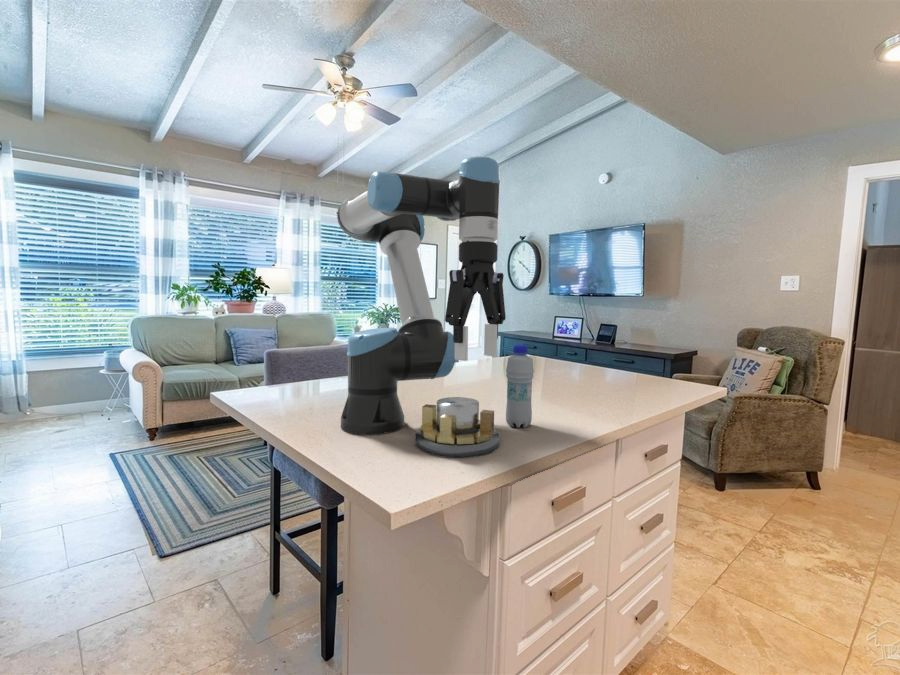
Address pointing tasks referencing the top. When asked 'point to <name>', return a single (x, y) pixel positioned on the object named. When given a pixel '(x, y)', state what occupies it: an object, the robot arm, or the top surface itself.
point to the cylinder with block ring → (448, 427)
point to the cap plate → (457, 447)
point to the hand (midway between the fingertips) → (476, 357)
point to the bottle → (519, 387)
